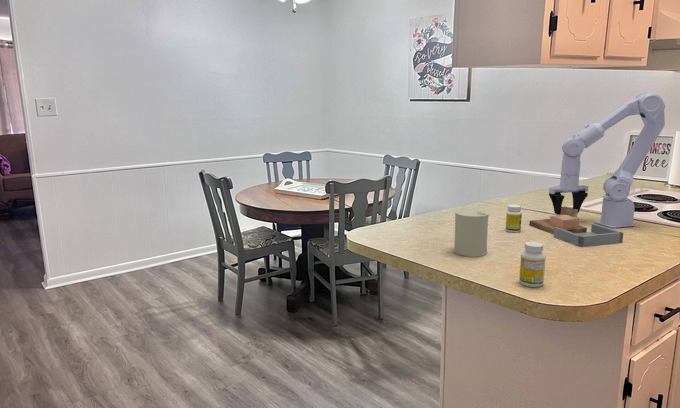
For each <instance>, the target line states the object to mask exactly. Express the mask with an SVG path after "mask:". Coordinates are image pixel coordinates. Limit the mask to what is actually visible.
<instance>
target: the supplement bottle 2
mask: <svg viewBox="0 0 680 408" xmlns="http://www.w3.org/2000/svg"><path fill="white" fill-rule="evenodd" d="M523 248H524V250H523V251H522V252H521V255H520V267H519V268H520V269H519V283H520V284H521V285H522V286H523V285H524V286H526V287H530V288H540V287H542V286H543V285H544V282H545V269H546V254H545V253H544V252H543V251H544V244H543V243H540V242H537V241H527V242H524V247H523Z"/></svg>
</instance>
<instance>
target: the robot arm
mask: <svg viewBox="0 0 680 408" xmlns="http://www.w3.org/2000/svg"><path fill="white" fill-rule="evenodd" d="M665 108H666V104H665V102H664V100H663V98H662V97H661V96H660V95H659V94H658V93H652V92H651V93H640V94H638V95H637V96H635V98H632V99H630V100H629V101H626V102H625V103H624V104H622V105H621V106H619V107H618V108H617V109H616V110H614V111H613V112H612V113H610V114H609V115H607V116H606V117H605V118H603V120H601V121H600V122H598V123H593V122H592V123H590V124H588V123H587V124H586V125H584V128H583V129H582V130H581V131H579V132H577V133H576V134H574V133H573V134H572V135H571V137H572V138H568V139H566V140H565V141H564V142H563V144H562V146H561V151H562V152H563V154H562V160H561V168H560V170H561V171H560V182H559V184H558V186H551V187H548V197H549V199H550V200H551V203H552V206H553V211H554V214H560V213H561V207H563V206H562V205H563V201H564V199H565V195H564V194H568V193H571V194H572V195H571V196H572V208H573V209H576V210H578V214H579V213H580V211H581V208H582V205H583V204H584V201H585V200H586V198H587V197H588V195H589V193H588V192H589V186H588V185H584V184H583V185H580V184H579V181H580V172H581V171H580V170H581V155H582V153H583V152H584V149H588V148H589V147H591V146H592V145H593V144H595V143H596V142H598V141H599V140H601V139H602V138H604V136H605V132H606V131H607V130H609V129H610V128H611V127H613V126H615V125H616V124H618V123H619V122H621V121H623V120H624V119H625V118H627V117H630V116H631V117H632V116H636V115H639V116H640V119H641V120H642V122H643V125H644V126H643V128H642V129H641V131H640V133H638V136H637V137H636V139H635V141H634V142H633V144H632V146H631V147H630V149H629V151H628V152H627V154H626V155H625V157H624V159H623V161H622V162H621V164H620V166H619V167H618V168H617V169H616V170H615V171H614V172H613V173H612V175H611V176H610V177H609V178H608V179H605V181H604V183H603V187H602V189H603V191H604V192H605V194H604V196H603V197H602V205H601V215H600V220H596V221H594V224H597V225H600V226H603V227H607V228H610V229H617V228H627V227H635V226H636V225H635V223H634V215H635V203H634V202H633V200H632V199H630V198H628V196H629V195H630V192H631V186H632V184H633V182H634V177H635V174H636V173H637V171H638V170H639V168H640V166H641V165H642V163H643V162H644V160H645V159H646V157H647V155H648V153H649V152H650V150H651V149H652V147H653V146H654V144H655V142H656V141H657V139H658V138H659V135H660V134H661V132H662V131H663V130H664V128H665V124H666V122H665V119H666V118H665V117H666V116H665V110H666V109H665Z"/></svg>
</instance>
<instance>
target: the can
mask: <svg viewBox="0 0 680 408" xmlns="http://www.w3.org/2000/svg"><path fill="white" fill-rule="evenodd" d="M489 215H490V214H489V212H488V211H486V210H482V209H478V208H477V209H475V208H463V209H458V210H455V212H454V218H455V219H454V221H455V222H454V244H453V245H454V246H453V253H455V254H456V255H458V256H463V257H467V258H468V257H469V258H479V257H484V256H487V254H488V249H487V248H488V225H489Z"/></svg>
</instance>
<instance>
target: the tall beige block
mask: <svg viewBox="0 0 680 408" xmlns="http://www.w3.org/2000/svg"><path fill="white" fill-rule="evenodd" d="M578 214H579V213H578V210H576V209H573V207H569V206H561V213H560V214H556V215H568V216H572V217H575V218H578ZM556 215H555V216H556Z"/></svg>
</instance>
